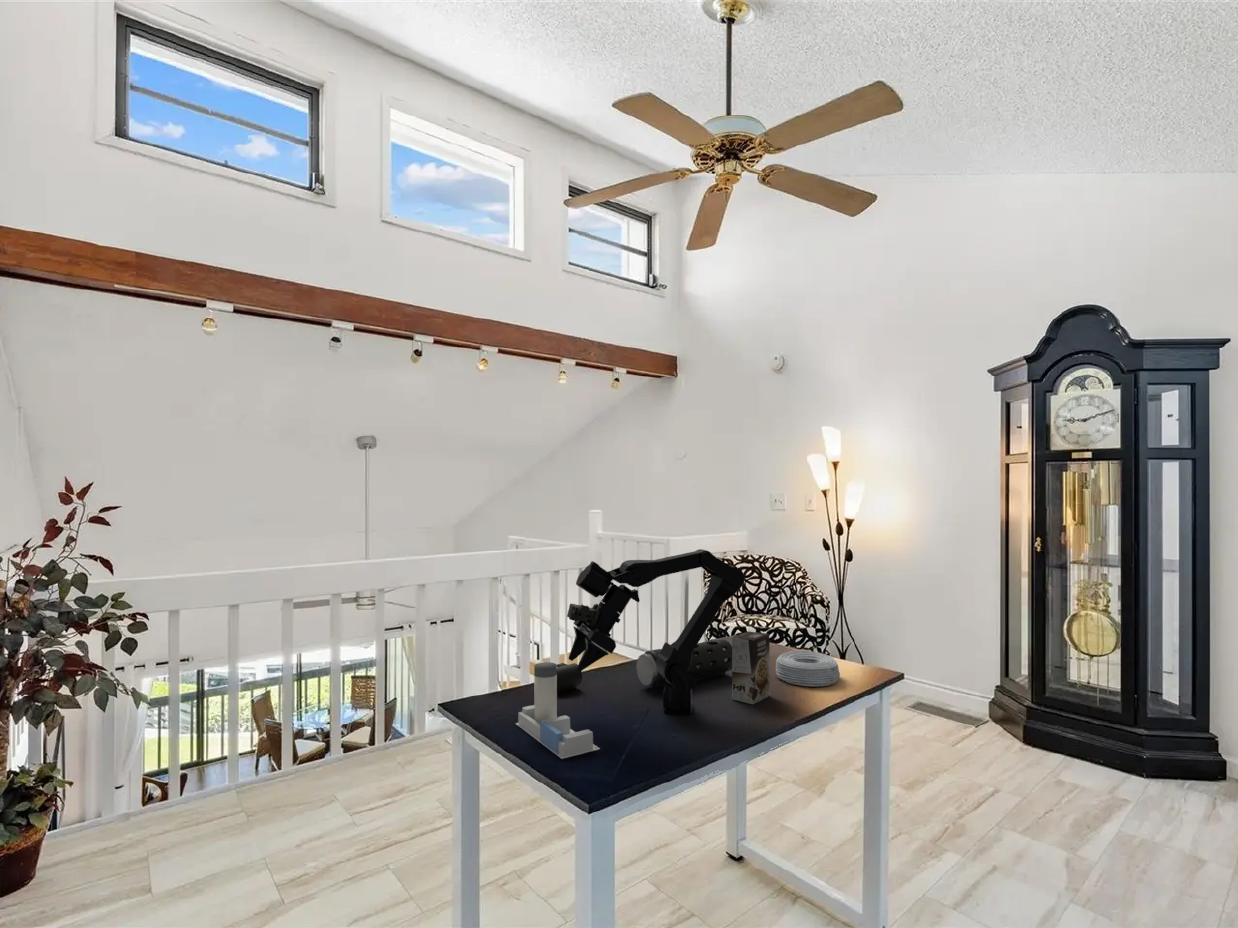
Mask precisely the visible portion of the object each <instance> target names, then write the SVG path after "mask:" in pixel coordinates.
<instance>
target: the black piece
mask: <svg viewBox="0 0 1238 928" xmlns="http://www.w3.org/2000/svg"><path fill="white" fill-rule="evenodd" d="M556 665H557V694H560V693H563V692H567V691H569V690H570V689H571V690H574V689H576V688H577V687H579V686H580V685H581V684H582V682H583V672H582V671H583V670H582V671H579V670H577V666H578V664H577V663H575V662H574V663H573V662H572V663H570V664H568V663H567V664H566V663H564V662H561V663H556ZM573 688H574V689H573ZM571 690H570V691H571Z"/></svg>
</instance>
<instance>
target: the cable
mask: <svg viewBox="0 0 1238 928" xmlns="http://www.w3.org/2000/svg"><path fill="white" fill-rule="evenodd" d="M775 674H776V677H777V678H778V679H780V680H781V679H782V680H783V681H782V680H781V681H782V682H784V681H785V682H784V683H786V682H787V684H791V685H796V686H801V687H814V688H815V687H817V688H818V687H819V686H820V687H827V686H830V685H832V684H835V683H837V681H838V680H839V679H840V678H841V677H840V676H841V673H840V670H839V664H838V662H837V661H836V660H835V658H833V657H831V656H830V655H828V654H825V653H822V652H817V651H813V650H812V651H811V650H792V651H787V652H784V653H781V654H779V656H778V657H777V658H776V661H775ZM820 687H819V688H820Z"/></svg>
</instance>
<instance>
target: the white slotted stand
mask: <svg viewBox="0 0 1238 928" xmlns="http://www.w3.org/2000/svg"><path fill="white" fill-rule="evenodd" d="M517 716H518V720H517V721H518V722H516V723H515V725H516V726H518V727H519V728H521V729H522V730H523V731H524V732H526V733H527V734H528V735H530V736H531V737H532V738H533V739H535V740H536V741H538V742H539V743H540V744H542V745H543V746H544V747H545V748H547V749H548V750H549V751H551V752H552V753H553V754H555V755H556V756H557V757H559V758H560V759H562V760H563V759H567V758H570V757H574V756H579V755H583V754H587V753H590V752H595V751H598V750H601V748H600V747H598V745H595V744H594V732H593V731H592V730H590V729H583V730H580V731H575V730H573V729H572V728H571V717H570V716H568V715H565V714H564V715H561V716H557V717H555V718H551V719H546V720H541V722H540V724H539V723H537V722H536V721H535V720H534V704H533V705H527V706H523V707H522V709H521V711H519V712H518V714H517Z"/></svg>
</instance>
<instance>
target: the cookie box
mask: <svg viewBox="0 0 1238 928" xmlns="http://www.w3.org/2000/svg"><path fill="white" fill-rule="evenodd" d="M731 639H732V640H731V642H732V643H731V646H732V670H731V677H732V679H731V687H732V688H731V694H732V696H731V699H732V700H734V701H738V702H741V703H746V704H748V705H749V704H750V705H754V704H756V703H759V702H761V701H762V700H765V699H766V698H768V697H770V696H771V683H770V682H771V680H770V679H771V677H770V676H771V673H770V672H771V669H770V668H771V666H770V665H771V664H770V658H771V657H770V651H771V650H770V634H769V633H765V632H758V631H757V632H755V631H750V630H749V631H746V632H742V633H740V634H737V635H733V636H731Z"/></svg>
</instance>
